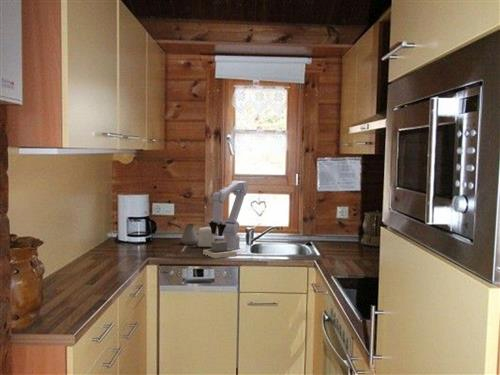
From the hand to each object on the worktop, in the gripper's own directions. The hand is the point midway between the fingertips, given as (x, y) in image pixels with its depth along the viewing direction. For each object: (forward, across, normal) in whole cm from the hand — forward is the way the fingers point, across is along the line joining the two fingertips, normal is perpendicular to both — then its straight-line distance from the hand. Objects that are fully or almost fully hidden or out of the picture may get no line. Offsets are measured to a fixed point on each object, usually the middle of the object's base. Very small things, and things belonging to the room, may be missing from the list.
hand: (217, 235), depth 276 cm
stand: (+10, +8, -2) cm, 13 cm away
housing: (+8, +8, -3) cm, 11 cm away
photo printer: (+10, -18, +4) cm, 21 cm away
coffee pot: (+10, -30, -6) cm, 33 cm away
